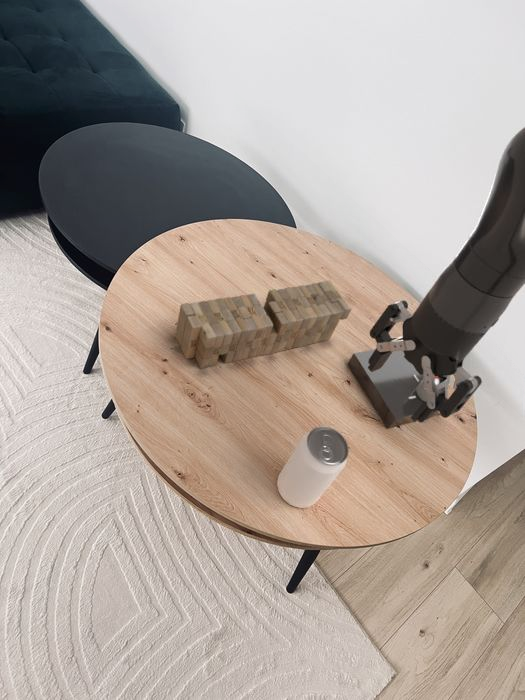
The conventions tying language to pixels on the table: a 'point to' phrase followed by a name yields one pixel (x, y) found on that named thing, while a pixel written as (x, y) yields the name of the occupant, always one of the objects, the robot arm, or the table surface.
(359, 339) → the table surface
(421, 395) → the knob
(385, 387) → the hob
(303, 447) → the can
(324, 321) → the block tower
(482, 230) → the robot arm
